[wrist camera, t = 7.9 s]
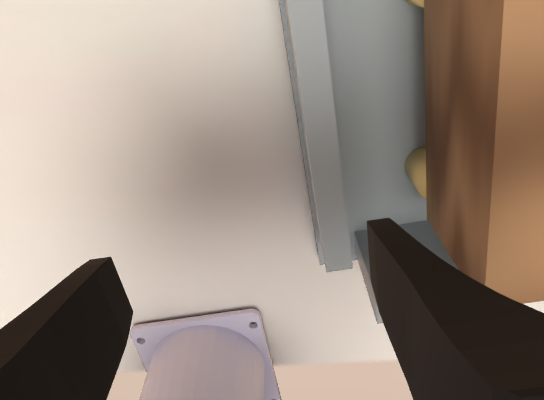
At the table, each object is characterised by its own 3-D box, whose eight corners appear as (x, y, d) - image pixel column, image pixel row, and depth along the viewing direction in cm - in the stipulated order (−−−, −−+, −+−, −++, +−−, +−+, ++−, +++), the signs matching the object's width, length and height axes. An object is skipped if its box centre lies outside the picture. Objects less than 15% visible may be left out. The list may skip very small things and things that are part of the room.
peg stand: (576, 215, 24) (666, 287, 18) (318, 254, 25) (332, 333, 19) (653, -227, 15) (860, -330, 10) (257, -140, 16) (252, -191, 11)
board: (511, 205, 20) (600, 292, 15) (426, 218, 20) (483, 308, 15) (541, -114, 14) (702, -161, 9) (422, -90, 14) (512, -122, 9)
